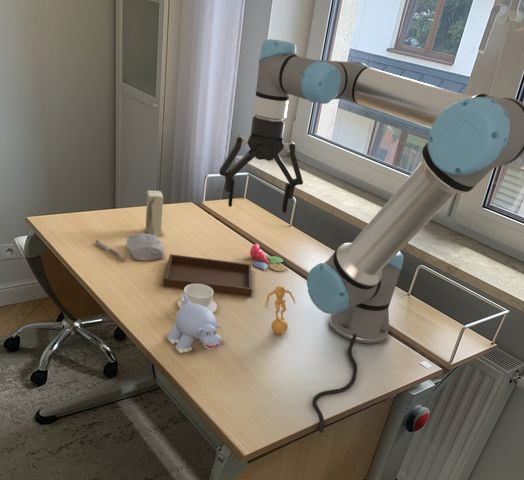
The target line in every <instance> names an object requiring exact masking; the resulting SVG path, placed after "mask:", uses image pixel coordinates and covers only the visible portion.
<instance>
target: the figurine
mask: <svg viewBox="0 0 524 480" xmlns="http://www.w3.org/2000/svg"><path fill="white" fill-rule="evenodd" d="M286 293H287V294H289V296H290V298H291V299H292V300H293V304H296V300H295V297H294V296H293V294H292V292H291V291H290V290H288V289H286V288H285V286H281V285H277V286H276V287H275V289H273V290H272V291H271V292H269V293H268V294H267V297H266V301H265V306H264V308H267V307H268V306H269V304H268V303H269V300H270V297H271V296H272V295H274V294H275V297H276V300H274V305H275V309H276V310H275V318H276V319H274V320H273V321H272V323H271V330H272V332H273V333H274V334H276V335H284V334H285V333H286V332H287V331H288V328H289V326H288V325H289V324H288V322H287V320H286V319H285V318H284V312H286V311H287V307H286V300H285V299H284V297H285V295H286ZM281 308H282V309H281ZM279 313H280V318H279Z"/></svg>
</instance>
